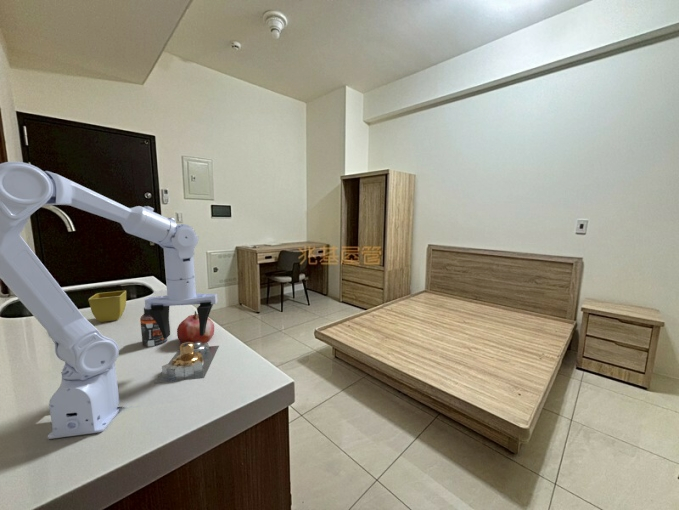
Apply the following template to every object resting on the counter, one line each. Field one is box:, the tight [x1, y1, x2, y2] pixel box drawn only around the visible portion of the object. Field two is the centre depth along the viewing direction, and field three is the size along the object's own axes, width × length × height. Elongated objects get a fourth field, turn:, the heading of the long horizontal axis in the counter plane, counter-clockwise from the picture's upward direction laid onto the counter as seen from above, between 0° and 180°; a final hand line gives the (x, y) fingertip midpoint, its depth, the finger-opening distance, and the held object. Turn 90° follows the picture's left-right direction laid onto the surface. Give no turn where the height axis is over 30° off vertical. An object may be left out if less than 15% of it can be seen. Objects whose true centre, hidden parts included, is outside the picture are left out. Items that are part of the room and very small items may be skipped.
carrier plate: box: [153, 345, 220, 384], centre depth 70 cm, size 16×10×1 cm, turn 12°
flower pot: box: [88, 290, 127, 323], centre depth 101 cm, size 9×9×9 cm
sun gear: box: [193, 341, 210, 356], centre depth 74 cm, size 6×6×2 cm
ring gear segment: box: [161, 361, 203, 379], centre depth 64 cm, size 3×8×2 cm, turn 102°
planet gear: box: [172, 342, 203, 366], centre depth 68 cm, size 6×6×5 cm
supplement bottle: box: [139, 306, 168, 348], centre depth 80 cm, size 6×6×11 cm
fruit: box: [176, 310, 215, 344], centre depth 81 cm, size 9×10×10 cm
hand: (184, 335), depth 66 cm, fingers open, 7 cm apart
